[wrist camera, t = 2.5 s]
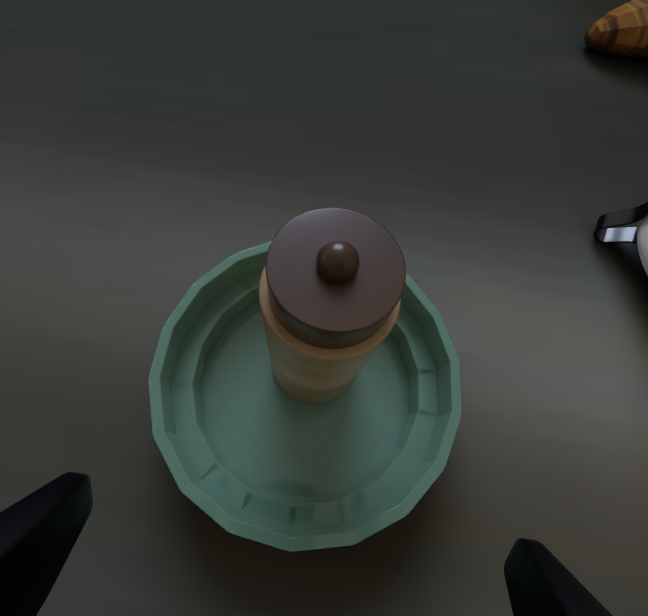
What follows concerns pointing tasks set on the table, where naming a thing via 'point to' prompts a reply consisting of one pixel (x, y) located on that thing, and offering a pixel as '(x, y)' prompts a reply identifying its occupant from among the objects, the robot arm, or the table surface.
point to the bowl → (299, 419)
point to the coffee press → (626, 230)
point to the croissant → (622, 31)
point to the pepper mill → (328, 300)
